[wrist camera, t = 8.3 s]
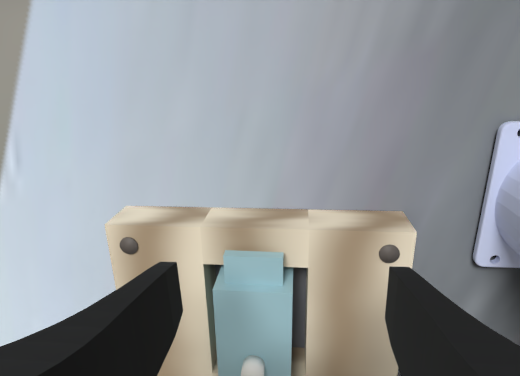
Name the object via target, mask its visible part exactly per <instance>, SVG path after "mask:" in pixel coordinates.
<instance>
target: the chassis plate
mask: <svg viewBox="0 0 520 376" xmlns="http://www.w3.org/2000/svg"><path fill="white" fill-rule="evenodd" d="M105 230H106V235H107V241H108V246H109V252H110V257H111V263H112V269H113V274H114V280H115V285H116V290H117V289H119V288H120V287H122V286H123V285H125V284H126V283H128V282H129V281H131V280H132V279H134V278H135V277H137V276H138V275H140V274H141V273H143V272H144V271H146V270H147V269H149V268H150V267H152V266H153V265H155V264H157V263H159V262H177V268H178V275H179V283H180V290H181V298H182V305H183V313H182V317H181V320H180V323H179V327H178V330H177V333H176V336H175V338H174V341H173V343H172V345H171V347H170V349H169V352H168V354H167V356H166V358H165V360H164V362H163V364H162V367H161V369H160V371H159V373H158V375H157V376H218V363H217V348H216V334H215V319H214V304H213V287H214V285H215V282H216V279H217V276H218V274H219V271H220V268H221V266H222V265H224V262H223V255H224V253H225V250H236V251H262V252H284V263H283V267H293V313H292V357H291V376H397V374H398V365H397V362H396V359H395V356H394V354H393V351H392V348H391V344H390V340H389V336H388V331H387V326H386V322H385V310H386V299H387V288H388V277H389V266H392V267H410V268H411V269H412V264H413V257H414V250H415V242H416V235H417V232H416V230H415V229H414V228H413V226H412V225H411V223H410V222H409V220H408V219H407V217H406V216H405V214H404V213H403V211H357V210H306V209H256V208H205V207H155V206H126V207H125V208H123V209H122V210H121V211H120V212H119V213H117V214H116V215H115V216H114V217H113V218H112V219H110V220H109V221H108V222H107V223H106V224H105Z"/></svg>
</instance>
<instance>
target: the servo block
mask: <svg viewBox="0 0 520 376" xmlns="http://www.w3.org/2000/svg"><path fill="white" fill-rule="evenodd" d="M223 262H224V265H222V266H221V268H220V271H219V274H218V276H217V279H216V282H215V285H214V287H213V304H214V319H215V334H216V348H217V363H218V376H291V357H292V313H293V267H283V263H284V252H262V251H236V250H225V253H224V255H223Z"/></svg>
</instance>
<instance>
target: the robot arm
mask: <svg viewBox="0 0 520 376" xmlns="http://www.w3.org/2000/svg"><path fill="white" fill-rule="evenodd" d="M519 129H520V121H509V122H505V123H503V124H502V125H501V126H500V127H499V129H498V131H497V136H496V141H495V146H494V151H493V157H492V162H491V167H490V172H489V177H488V182H487V187H486V192H485V197H484V202H483V207H482V212H481V217H480V222H479V227H478V232H477V237H476V242H475V247H474V252H473V260H474V261H475V263H476V264H477V265H479V266H482V267H506V268H520V136H517V132H518V130H519ZM495 255H496V258H495V259H493V260H490V258H491V257H492V256H495ZM182 313H183V305H182V298H181V290H180V283H179V275H178V268H177V262H159V263H157V264H155V265H153V266H152V267H150V268H149V269H147V270H146V271H144V272H143V273H141V274H140V275H138V276H137V277H135V278H134V279H132V280H131V281H129V282H128V283H126V284H125V285H123V286H122V287H120V288H119V289H117V290H116V291H114V292H112V293H111V294H109V295H107V296H106V297H104V298H102V299H101V300H99V301H98V302H96V303H94V304H93V305H91V306H89V307H87V308H86V309H84V310H82V311H80V312H78V313H77V314H75V315H73V316H71V317H69V318H67V319H65V320H63V321H61V322H59V323H57V324H55V325H52V326H50V327H48V328H45V329H43V330H41V331H38V332H36V333H34V334H31V335H29V336H27V337H24V338H22V339H20V340H17V341H14V342H12V343H9V344H6V345H4V346H1V347H0V376H157V375H158V373H159V371H160V369H161V367H162V364H163V362H164V360H165V358H166V356H167V354H168V352H169V349H170V347H171V345H172V343H173V341H174V338H175V336H176V333H177V330H178V327H179V323H180V320H181V317H182ZM385 322H386V326H387V331H388V336H389V340H390V344H391V348H392V351H393V354H394V356H395V359H396V362H397V365H398V368H399V370H400V373H401V376H520V346H519V345H517V344H515V343H513V342H512V341H510V340H508V339H507V338H505V337H503V336H502V335H500V334H498V333H497V332H495V331H493V330H492V329H490V328H489V327H487V326H486V325H484V324H483V323H481V322H480V321H478V320H477V319H475V318H474V317H473V316H471V315H470V314H468V313H467V312H465V311H464V310H463V309H461V308H460V307H459V306H457V305H456V304H455V303H453V302H452V301H451V300H449V299H448V298H447V297H446V296H444V295H443V294H442V293H441V292H439V291H438V290H437V289H436V288H434V287H433V286H432V285H431V284H430V283H428V282H427V281H426V280H425V279H424V278H422V277H421V276H420V275H419V274H417V273H416V272H415V271H414V270H412V269H411V268H410V267H392V266H389V277H388V288H387V299H386V310H385Z"/></svg>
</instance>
